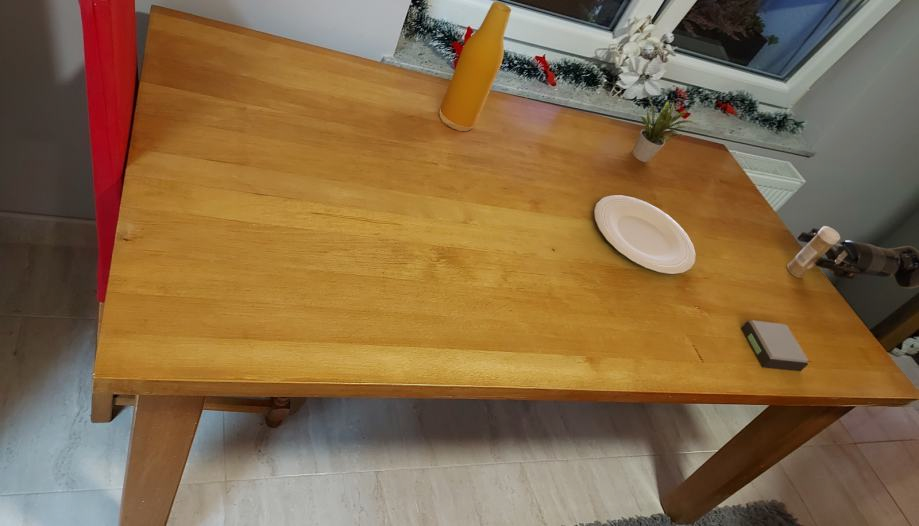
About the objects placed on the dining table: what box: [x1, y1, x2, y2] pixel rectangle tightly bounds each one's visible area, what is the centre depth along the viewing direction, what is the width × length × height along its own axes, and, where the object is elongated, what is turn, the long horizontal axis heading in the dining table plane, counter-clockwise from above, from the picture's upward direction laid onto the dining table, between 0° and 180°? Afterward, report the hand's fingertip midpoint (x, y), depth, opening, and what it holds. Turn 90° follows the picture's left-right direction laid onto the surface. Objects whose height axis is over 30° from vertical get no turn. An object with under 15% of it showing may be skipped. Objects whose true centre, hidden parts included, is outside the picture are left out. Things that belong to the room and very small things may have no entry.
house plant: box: [631, 96, 697, 163], centre depth 175 cm, size 14×14×16 cm
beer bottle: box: [439, 1, 512, 127], centre depth 152 cm, size 9×9×29 cm
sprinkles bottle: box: [786, 225, 841, 279], centre depth 161 cm, size 5×5×13 cm
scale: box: [740, 319, 809, 372], centre depth 139 cm, size 10×10×3 cm
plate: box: [593, 194, 697, 275], centre depth 152 cm, size 25×25×2 cm
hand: (809, 249), depth 160 cm, fingers open, 8 cm apart
